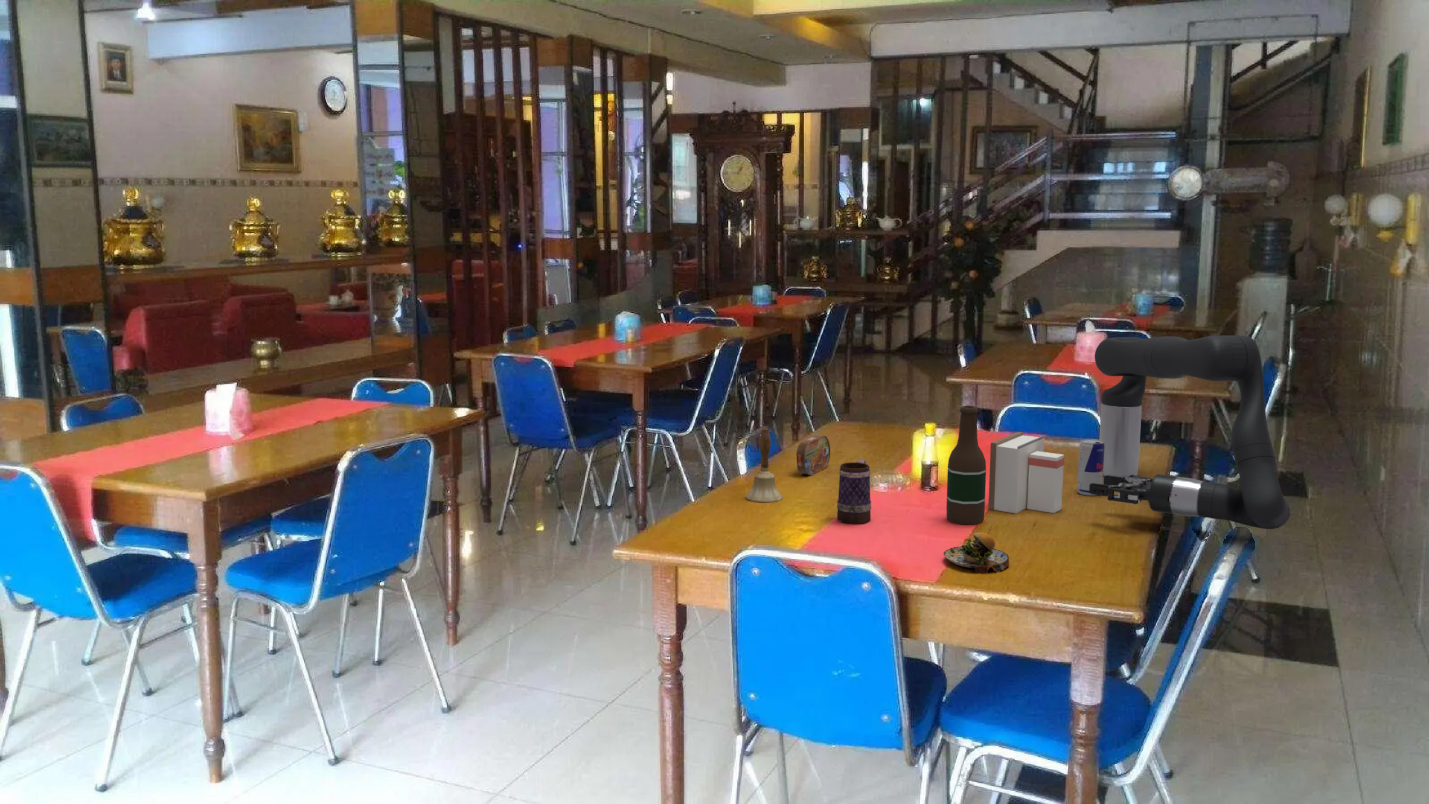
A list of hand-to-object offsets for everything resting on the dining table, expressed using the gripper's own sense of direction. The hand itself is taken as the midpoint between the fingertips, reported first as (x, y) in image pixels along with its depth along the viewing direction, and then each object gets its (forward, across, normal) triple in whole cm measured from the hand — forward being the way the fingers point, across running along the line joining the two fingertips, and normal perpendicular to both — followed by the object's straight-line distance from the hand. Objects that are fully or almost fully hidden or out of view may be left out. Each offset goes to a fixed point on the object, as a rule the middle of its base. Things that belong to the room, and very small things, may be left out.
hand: (1097, 484), depth 236 cm
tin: (+70, 0, +7) cm, 70 cm away
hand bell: (+65, +28, +7) cm, 71 cm away
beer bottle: (+21, +18, +7) cm, 29 cm away
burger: (+7, +43, +8) cm, 44 cm away
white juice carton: (+11, 0, +7) cm, 13 cm away
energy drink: (+8, -19, +7) cm, 22 cm away
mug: (+40, +30, +7) cm, 50 cm away
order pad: (+17, 0, +7) cm, 18 cm away
